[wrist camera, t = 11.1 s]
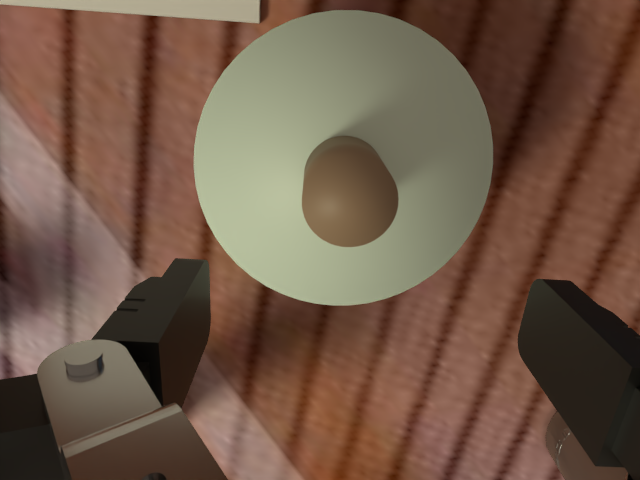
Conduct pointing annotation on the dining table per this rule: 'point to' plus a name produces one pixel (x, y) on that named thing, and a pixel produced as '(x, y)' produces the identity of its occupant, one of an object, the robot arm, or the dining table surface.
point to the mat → (159, 8)
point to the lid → (343, 157)
